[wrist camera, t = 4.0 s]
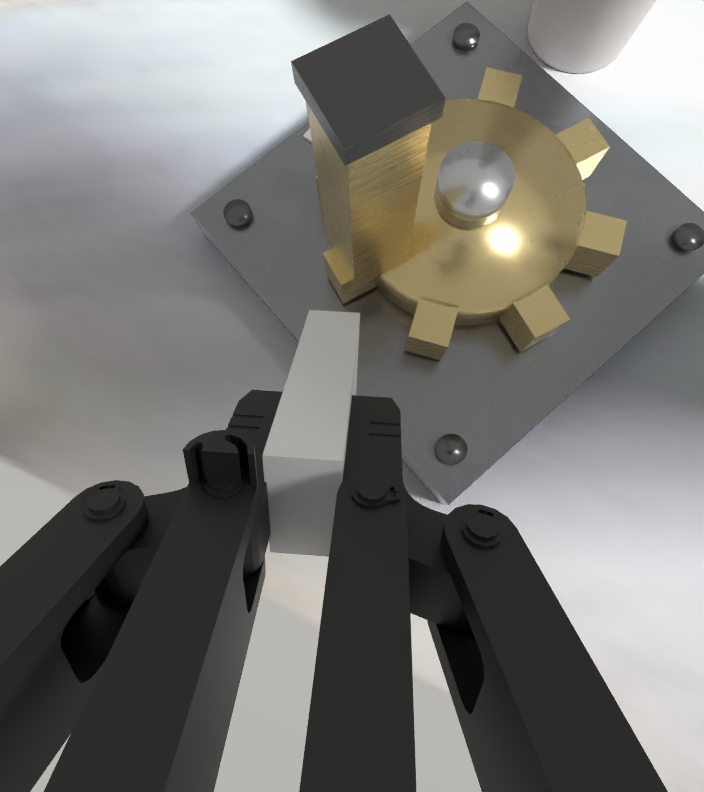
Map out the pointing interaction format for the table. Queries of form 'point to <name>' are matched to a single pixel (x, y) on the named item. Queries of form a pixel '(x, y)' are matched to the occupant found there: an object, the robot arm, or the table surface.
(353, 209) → the brass gear wheel
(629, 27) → the coffee cup
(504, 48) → the steel plate
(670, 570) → the table surface
